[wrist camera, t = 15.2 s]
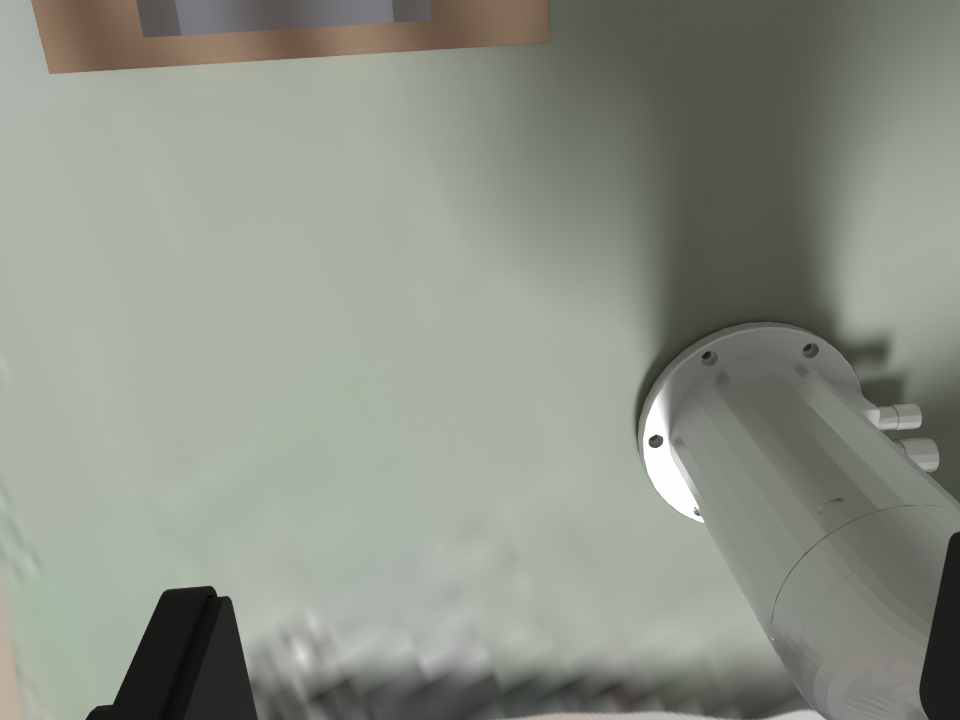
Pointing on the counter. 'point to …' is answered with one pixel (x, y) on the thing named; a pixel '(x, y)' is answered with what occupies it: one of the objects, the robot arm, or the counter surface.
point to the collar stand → (271, 29)
